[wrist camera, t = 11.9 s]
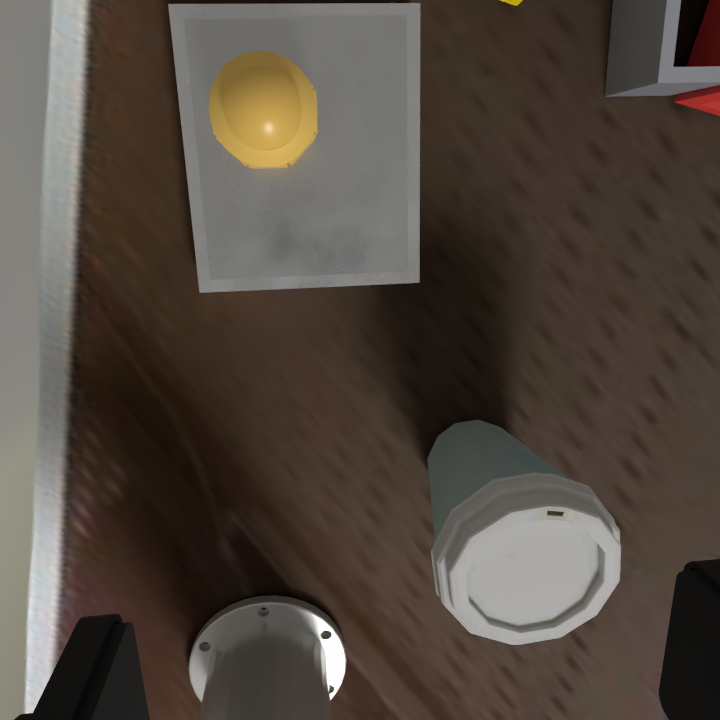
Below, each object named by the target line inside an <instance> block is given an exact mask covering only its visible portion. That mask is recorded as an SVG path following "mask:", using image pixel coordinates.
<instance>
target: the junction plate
mask: <svg viewBox="0 0 720 720" xmlns="http://www.w3.org/2000/svg"><path fill="white" fill-rule="evenodd" d="M168 7H169V16H170V25H171V34H172V44H173V53H174V62H175V71H176V80H177V90H178V99H179V108H180V117H181V126H182V136H183V145H184V154H185V163H186V172H187V182H188V191H189V200H190V209H191V218H192V228H193V237H194V246H195V255H196V264H197V274H198V283H199V292H200V293H203V292H225V291H247V290H270V289H292V288H314V287H336V286H358V285H380V284H402V283H420V3H327V4H168ZM252 51H268V52H273V53H276V54H279V55H282V56H283V57H286V58H287V59H289V60H290V61H292V62H293V63H295V64H296V65H297V66H298V67H299V68H300V69H301V70H302V71H303V73H304V74H305V75H306V77H307V78H308V80H309V81H310V83H311V84H312V85H313V86H314V91H316V101H317V127H318V133H317V135H316V138H315V140H314V141H313V142H312V144H311V145H310V146H309V147H308V148H307V149H306V150H305V151H304V153H303V154H302V155H301V156H300V157H299V158H298V159H297V161H296V162H295V163H294V164H293V165H292V166H291V165H290V164H289V163H288V168H255V169H254V168H249V167H247V166H245V165H244V164H243V163H241V162H240V161H239V160H238V159H237V158H236V157H235V156H233V155H232V154H231V153H230V152H228V150H227V149H226V148H225V147H224V146H223V145H222V144H221V143H220V142H219V141H218V140H217V139H216V137H217V136H216V135H214V133H213V127H212V124H211V120H210V115H209V96H210V91H211V87H212V85H213V82H214V80H215V78H216V76H217V75H218V73H219V72H220V70H221V69H222V68H223V67H224V66H225V65H226V64H227V63H228V62H229V61H231V60H232V59H234V58H235V57H237V56H239V55H242V54H244V53H248V52H252Z"/></svg>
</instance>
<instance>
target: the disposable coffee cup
mask: <svg viewBox="0 0 720 720" xmlns="http://www.w3.org/2000/svg"><path fill="white" fill-rule="evenodd" d="M427 462H428V473H429V483H430V494H431V504H432V515H433V525H434V536H435V545H434V547H433V549H432V551H431V556H432V564H433V572H434V579H435V587H436V594H437V595H438V596H439V597H440V599H441V602H442V604H443V605H444V606H445V607H446V608H447V609H448V610H449V611H450V612H451V613H452V614H453V615H454V616H455V617H456V619H457V620H458V621H459V622H460V623H461V624H462V625H463V626H464V627H465V628H466V629H467V630H468V631H469V632H470V633H472V634H475V635H479V636H483V637H486V638H490V639H493V640H497V641H500V642H504V643H508V644H511V645H516V644H517V645H520V644H526V643H532V642H538V641H544V640H550V639H556V638H560V637H562V636H564V635H565V634H567V633H569V632H570V631H572V630H573V629H575V628H577V627H578V626H580V625H581V624H583V623H585V622H586V621H588V620H589V619H591V618H593V617H594V616H596V615H597V614H598V612H599V611H600V609H601V608H602V606H603V605H604V603H605V602H606V601H607V599H608V598H609V596H610V595H611V593H612V592H613V590H614V589H615V587H616V586H617V584H618V583H619V581H620V557H621V544H620V530H619V528H618V527H617V526H616V524H615V520H614V519H613V517H612V516H611V515H610V513H609V512H608V511H607V510H606V508H605V507H604V506H603V504H602V503H601V502H600V500H599V499H598V498H597V496H596V495H595V494H594V492H593V491H592V490H591V488H590V487H589V486H587V485H584V484H581V483H578V482H575V481H572V480H571V479H569V478H568V477H567V476H565V475H564V474H563V473H561V472H560V471H559V470H557V469H556V468H555V467H553V466H552V465H551V464H549V463H548V462H547V461H545V460H544V459H543V458H541V457H540V456H539V455H537V454H536V453H535V452H533V451H532V450H530V449H529V448H528V447H526V446H525V445H524V444H522V443H521V442H520V441H518V440H517V439H516V438H514V437H513V436H512V435H510V434H509V433H508V432H506V431H505V430H504V429H502V428H501V427H498V426H496V425H493V424H490V423H487V422H484V421H481V420H472V421H466V422H460V423H455V424H453V425H452V426H451V427H449V428H448V429H447V430H445V431H444V432H443V433H441V434H440V435H439V436H438V437H437V438H436V441H435V443H434V445H433V447H432V449H431V451H430V454H429V456H428V458H427Z"/></svg>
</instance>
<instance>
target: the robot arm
mask: <svg viewBox="0 0 720 720" xmlns="http://www.w3.org/2000/svg"><path fill="white" fill-rule="evenodd" d="M345 672H346V650H345V644H344V641H343V637H342V635H341V633H340V631H339V629H338V627H337V626H336V624H335V623H334V622H333V621H332V620H331V619H330V617H329V616H328V615H327V614H325V613H324V612H323V611H321V610H320V609H318V608H317V607H315V606H313V605H311V604H309V603H307V602H305V601H302V600H299V599H295V598H291V597H285V596H276V595H273V596H258V597H253V598H249V599H244V600H242V601H239V602H236V603H234V604H231V605H229V606H228V607H226V608H224V609H223V610H221V611H219V612H218V613H216V614H215V615H214V616H213V617H212V618H211V619H210V620H208V621H207V622H206V624H205V625H204V626H203V628H202V629H201V630H200V631H199V633H198V635H197V637H196V639H195V641H194V643H193V647H192V651H191V655H190V661H189V676H190V682H191V685H192V687H193V690H194V692H195V694H196V695H197V697H198V698H199V700H200V701H201V703H202V705H201V710H200V716H199V720H331V709H330V700H331V699H332V698H333V697H334V696H335V694H336V693H337V691H338V689H339V688H340V686H341V684H342V682H343V678H344V675H345ZM659 697H660V702H661V705H662V708H663V710H664V712H665V714H666V716H667V717H668V719H669V720H720V559H715V560H704V561H693V562H689V563H687V564H686V565H685V567H684V570H683V571H682V572H679V573H678V575H677V578H676V583H675V589H674V596H673V602H672V609H671V615H670V622H669V628H668V635H667V641H666V648H665V654H664V661H663V667H662V674H661V680H660V687H659ZM14 720H150V719H149V714H148V708H147V702H146V696H145V690H144V684H143V678H142V673H141V667H140V661H139V655H138V649H137V643H136V637H135V632H134V627H133V624H132V623H131V622H127V623H123V622H122V618H121V617H120V615H119V614H110V615H99V616H88V617H82V618H81V619H80V620H79V621H78V623H77V624H76V626H75V628H74V630H73V632H72V634H71V636H70V639H69V641H68V643H67V645H66V647H65V649H64V651H63V653H62V655H61V657H60V659H59V661H58V663H57V665H56V667H55V669H54V671H53V673H52V675H51V677H50V679H49V681H48V683H47V685H46V687H45V690H44V692H43V694H42V696H41V698H40V700H39V702H38V704H37V706H36V708H35V710H34V712H33V713H30V714H21V715H19V716H18V717H17V718H16V719H14Z"/></svg>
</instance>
